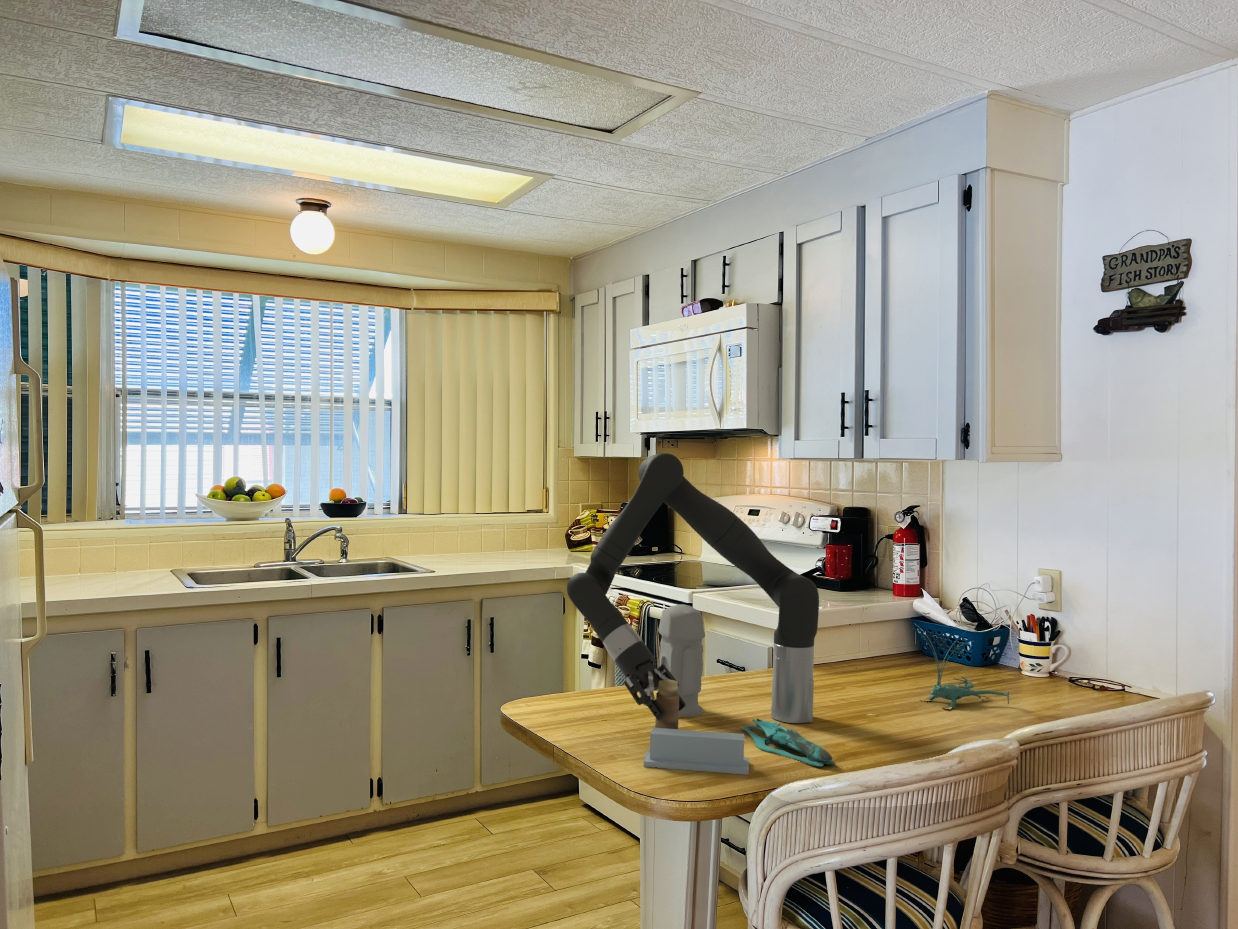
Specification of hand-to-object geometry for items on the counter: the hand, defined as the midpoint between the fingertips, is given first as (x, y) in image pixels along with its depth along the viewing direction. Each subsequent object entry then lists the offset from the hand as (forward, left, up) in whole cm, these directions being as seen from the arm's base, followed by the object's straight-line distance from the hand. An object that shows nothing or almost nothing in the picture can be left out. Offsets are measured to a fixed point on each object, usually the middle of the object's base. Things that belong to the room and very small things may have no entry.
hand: (672, 713), depth 190 cm
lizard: (-66, -47, -6) cm, 81 cm away
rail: (-6, +12, -6) cm, 15 cm away
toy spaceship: (-23, -2, -7) cm, 25 cm away
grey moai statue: (0, -25, -6) cm, 25 cm away
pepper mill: (+1, -1, -6) cm, 6 cm away
